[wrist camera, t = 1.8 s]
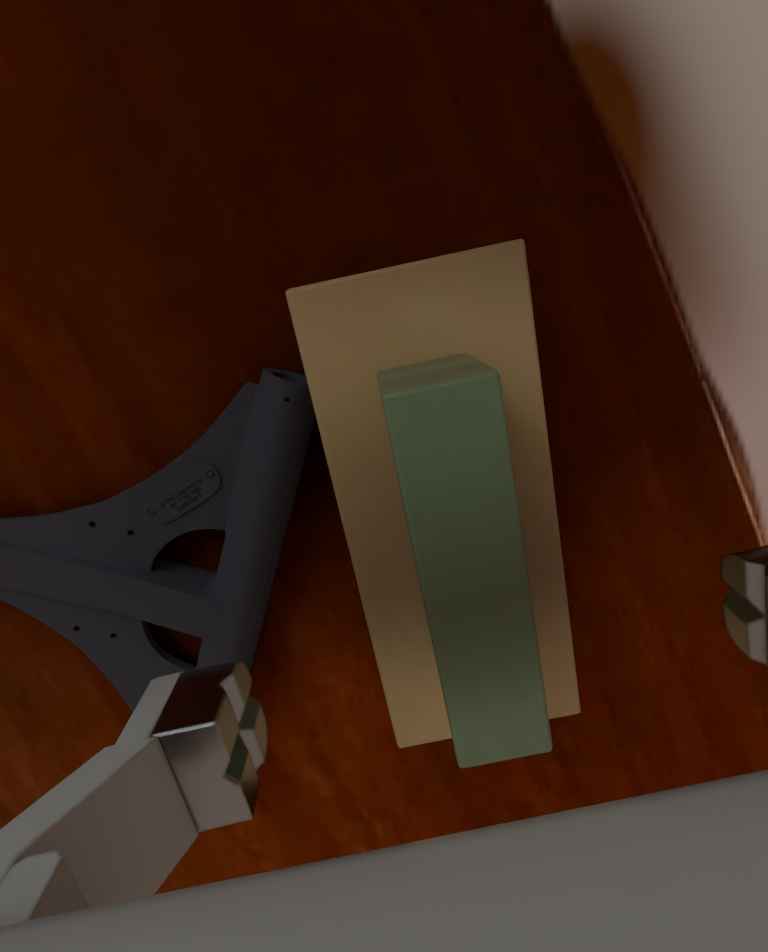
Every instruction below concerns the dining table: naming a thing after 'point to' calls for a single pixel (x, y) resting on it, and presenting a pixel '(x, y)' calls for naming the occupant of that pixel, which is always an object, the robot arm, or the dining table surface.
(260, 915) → the robot arm
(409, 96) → the dining table surface
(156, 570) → the bracket
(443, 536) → the brush
